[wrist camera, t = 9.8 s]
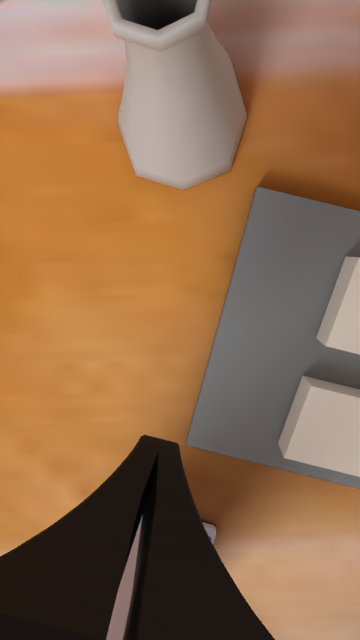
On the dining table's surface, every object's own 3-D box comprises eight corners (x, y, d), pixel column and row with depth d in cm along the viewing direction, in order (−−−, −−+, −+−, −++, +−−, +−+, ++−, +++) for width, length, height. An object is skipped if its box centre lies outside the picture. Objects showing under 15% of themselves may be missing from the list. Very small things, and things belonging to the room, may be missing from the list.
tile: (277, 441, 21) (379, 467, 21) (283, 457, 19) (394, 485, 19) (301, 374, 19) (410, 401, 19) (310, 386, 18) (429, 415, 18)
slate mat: (406, 493, 22) (413, 502, 21) (186, 438, 22) (185, 445, 21) (527, 254, 18) (542, 254, 17) (255, 189, 18) (257, 186, 17)
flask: (248, 40, 16) (316, -263, 7) (245, 188, 18) (295, 121, 8) (113, 51, 17) (-9, -216, 7) (122, 193, 18) (35, 136, 9)
